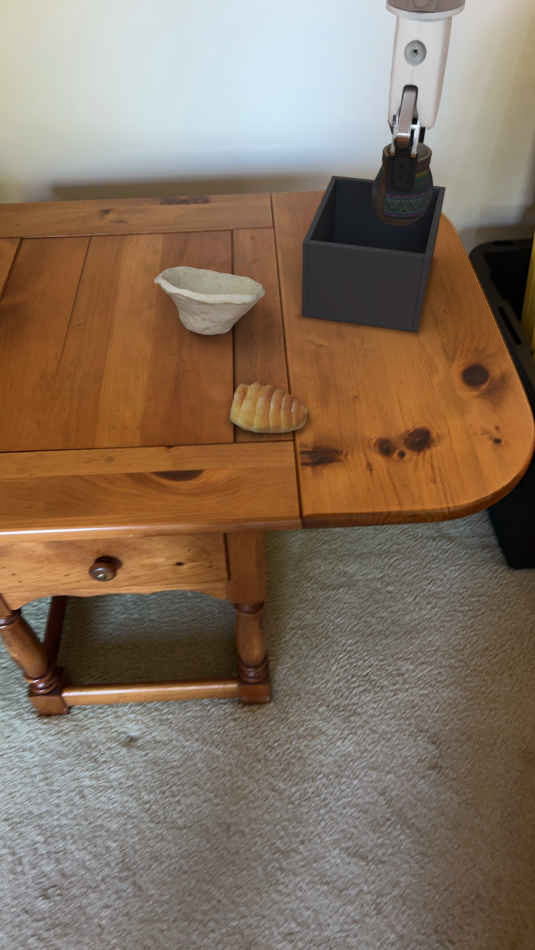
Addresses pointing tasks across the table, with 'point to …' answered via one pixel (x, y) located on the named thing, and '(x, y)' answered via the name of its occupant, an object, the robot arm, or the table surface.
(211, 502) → the table surface
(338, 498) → the table surface
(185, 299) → the bowl
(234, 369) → the table surface
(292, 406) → the pastry
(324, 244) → the trash bin
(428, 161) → the mate gourd
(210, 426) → the table surface
